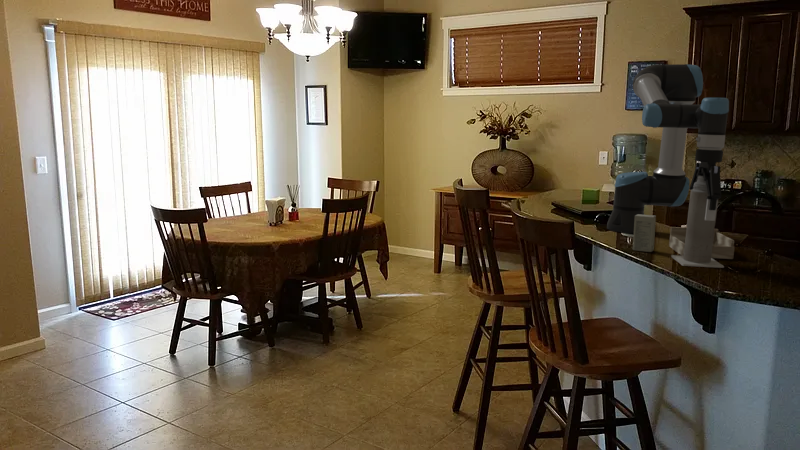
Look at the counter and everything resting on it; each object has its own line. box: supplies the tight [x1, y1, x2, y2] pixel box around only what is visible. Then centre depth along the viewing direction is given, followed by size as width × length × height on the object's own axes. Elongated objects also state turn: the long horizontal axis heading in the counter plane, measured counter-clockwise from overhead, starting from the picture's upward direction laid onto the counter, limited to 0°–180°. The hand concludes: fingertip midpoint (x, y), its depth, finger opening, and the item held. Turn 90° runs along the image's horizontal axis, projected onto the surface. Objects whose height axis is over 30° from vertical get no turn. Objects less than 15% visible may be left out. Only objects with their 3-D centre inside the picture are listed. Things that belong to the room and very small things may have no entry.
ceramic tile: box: [670, 254, 725, 269], centre depth 192 cm, size 12×12×1 cm
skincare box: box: [632, 214, 657, 253], centre depth 206 cm, size 6×4×12 cm
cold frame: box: [668, 226, 736, 260], centre depth 205 cm, size 16×16×7 cm
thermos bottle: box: [683, 172, 719, 263], centre depth 189 cm, size 8×8×28 cm
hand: (701, 216), depth 189 cm, fingers open, 13 cm apart
